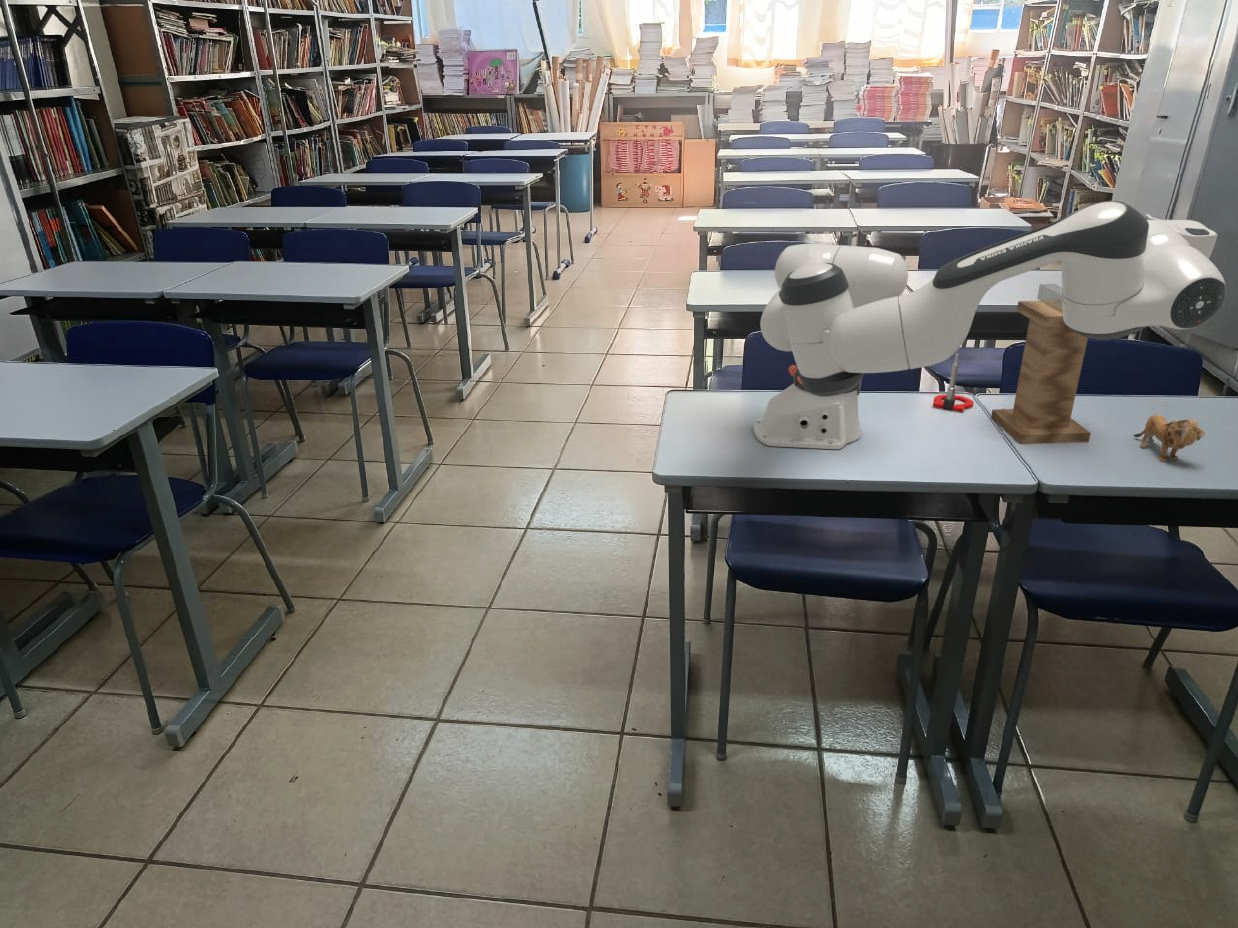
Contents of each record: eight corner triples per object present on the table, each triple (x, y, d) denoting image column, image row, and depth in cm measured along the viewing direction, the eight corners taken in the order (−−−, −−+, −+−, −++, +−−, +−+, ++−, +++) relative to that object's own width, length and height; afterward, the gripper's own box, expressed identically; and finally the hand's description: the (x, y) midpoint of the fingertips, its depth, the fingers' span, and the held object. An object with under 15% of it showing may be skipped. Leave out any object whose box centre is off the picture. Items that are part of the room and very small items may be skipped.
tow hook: (939, 396, 194) (927, 407, 187) (947, 343, 189) (936, 352, 182) (976, 403, 190) (966, 414, 183) (986, 348, 185) (976, 358, 178)
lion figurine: (1200, 467, 156) (1213, 423, 152) (1174, 469, 155) (1186, 425, 151) (1144, 437, 169) (1155, 395, 165) (1120, 439, 168) (1130, 397, 165)
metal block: (1093, 328, 150) (1097, 311, 149) (1037, 298, 170) (1039, 284, 169) (1110, 327, 150) (1113, 311, 149) (1051, 298, 170) (1054, 283, 169)
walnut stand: (1019, 443, 168) (1043, 318, 157) (990, 418, 180) (1011, 300, 169) (1088, 441, 168) (1117, 316, 157) (1055, 416, 180) (1079, 298, 169)
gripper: (1064, 274, 121) (1034, 238, 132) (1211, 276, 119) (1169, 238, 130) (1078, 233, 117) (1045, 198, 128) (1230, 233, 116) (1184, 199, 126)
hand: (1109, 218), depth 129 cm, fingers open, 8 cm apart
